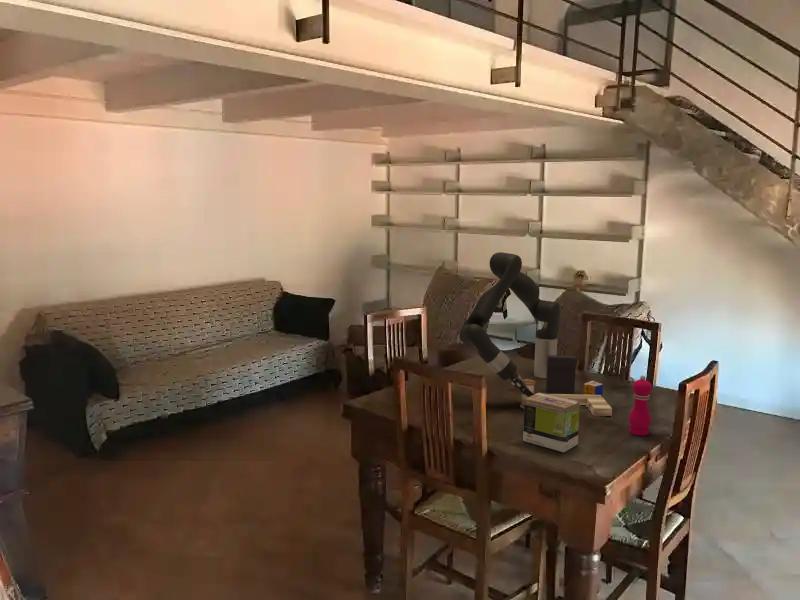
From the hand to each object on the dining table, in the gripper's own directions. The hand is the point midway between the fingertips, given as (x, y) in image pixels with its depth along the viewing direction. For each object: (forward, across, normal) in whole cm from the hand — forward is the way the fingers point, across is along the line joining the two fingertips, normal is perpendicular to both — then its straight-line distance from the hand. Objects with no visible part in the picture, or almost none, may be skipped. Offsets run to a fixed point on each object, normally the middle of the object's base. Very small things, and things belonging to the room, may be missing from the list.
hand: (532, 396), depth 248 cm
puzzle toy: (+22, +14, -15) cm, 30 cm away
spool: (+2, 0, +4) cm, 5 cm away
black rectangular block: (+13, +19, -7) cm, 24 cm away
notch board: (+15, -1, -9) cm, 18 cm away
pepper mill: (+26, -24, -20) cm, 40 cm away
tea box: (+3, -35, +3) cm, 35 cm away
